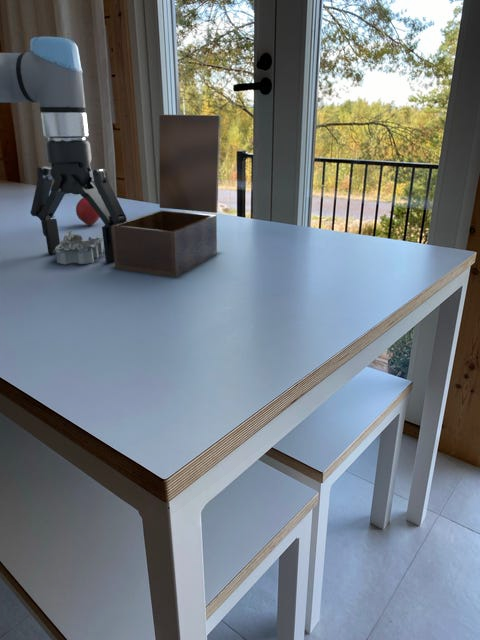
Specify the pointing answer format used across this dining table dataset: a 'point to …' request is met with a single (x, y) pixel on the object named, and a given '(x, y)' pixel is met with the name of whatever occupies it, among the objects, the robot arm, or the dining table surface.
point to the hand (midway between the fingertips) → (82, 256)
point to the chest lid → (189, 162)
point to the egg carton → (78, 249)
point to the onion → (86, 212)
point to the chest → (164, 242)
